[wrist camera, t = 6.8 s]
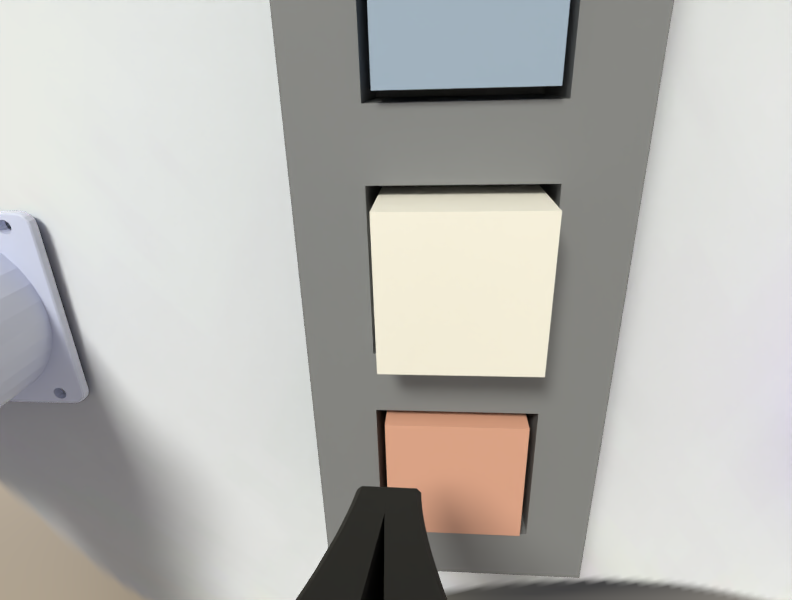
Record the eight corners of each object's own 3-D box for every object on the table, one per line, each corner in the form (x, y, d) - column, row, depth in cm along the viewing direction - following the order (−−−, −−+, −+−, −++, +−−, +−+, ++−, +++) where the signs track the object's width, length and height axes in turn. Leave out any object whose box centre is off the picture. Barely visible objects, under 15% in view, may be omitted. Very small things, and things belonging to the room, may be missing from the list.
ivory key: (387, 324, 17) (377, 374, 14) (382, 186, 15) (369, 212, 12) (527, 325, 16) (544, 377, 14) (538, 184, 15) (561, 210, 12)
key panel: (347, 486, 23) (330, 565, 19) (292, -187, 14) (239, -280, 10) (556, 494, 22) (579, 577, 19) (646, -211, 13) (726, -322, 9)
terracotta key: (396, 469, 21) (389, 530, 18) (392, 374, 19) (384, 425, 16) (508, 473, 20) (519, 536, 17) (516, 376, 18) (529, 428, 16)
